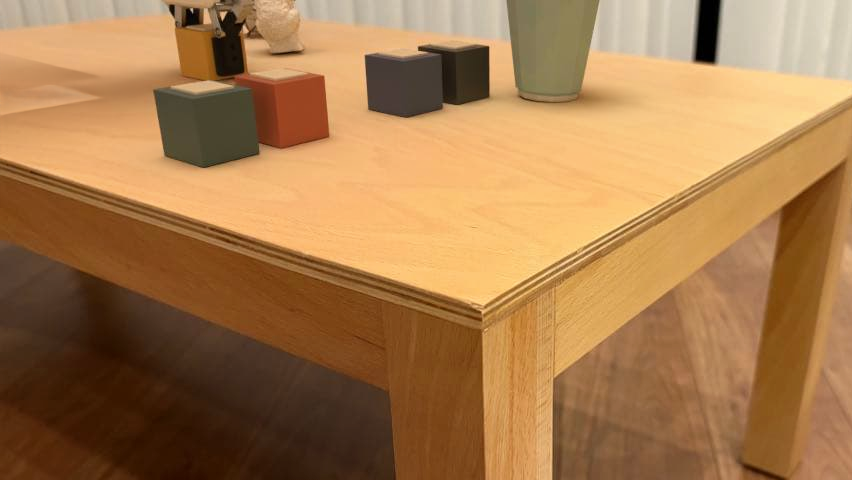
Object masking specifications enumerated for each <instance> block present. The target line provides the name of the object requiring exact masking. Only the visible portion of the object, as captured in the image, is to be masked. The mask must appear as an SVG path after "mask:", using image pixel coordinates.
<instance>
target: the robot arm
mask: <svg viewBox="0 0 852 480" xmlns="http://www.w3.org/2000/svg"><path fill="white" fill-rule="evenodd" d="M161 1H162V2H163V3H164V4H165V5H166V7H167V8H168V11H169V13H170V15H171V16H172V18H173V19H174V27H175V28H180V27H186V26H192V25H201V24H204V23H205V21H204V19H205V17H204V16H205V9H207V12H208V15H209V19H210V22H211V23H212V26H213V29H214V33H215V35H216V37H213V38H212V46H213V53H214V60H215V67H216V73H217V75H218V76H221V77H224V76H230V75H236V74H242V73H244V71H245V68H244V60H243V52H242V44H241V36H242V35H244V32H245V31H244V26H245V25H244V23H245V22H246V18H247V16H248V15H249V13H250V12H251V11H252V9H253V3H252V1H251V0H161ZM191 9H192V10H191ZM221 13H225V15H224V17H223V19H222V16H221V15H222V14H221ZM211 23H210V24H211ZM175 28H174V29H175Z"/></svg>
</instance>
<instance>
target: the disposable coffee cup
mask: <svg viewBox="0 0 852 480" xmlns="http://www.w3.org/2000/svg"><path fill="white" fill-rule="evenodd" d="M600 1H601V0H505V2H506V9H507V17H508V18H507V19H508V29H509V38H510V39H509V40H510V46H511V56H512V65H513V75H514V85H515V88H516V89H517V93H518V96H520V97H521V98H523V99H526V100H532V101H535V102H548V103H549V102H550V103H560V102H571V101H575V100H577V99H578V97H579V93H581V92H582V88H583V82H584V78H585V73H586V68H587V65H588V64H587V63H588V58H589V54H590V49H591V44H592V39H593V34H594V30H595V25H596V20H597V16H598V10H599V5H600Z"/></svg>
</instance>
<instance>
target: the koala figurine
mask: <svg viewBox="0 0 852 480" xmlns="http://www.w3.org/2000/svg"><path fill="white" fill-rule="evenodd" d="M254 2H255V7H256V15H257V20H256V26H257V30H258V31H259V32H258V33H259V34H260V36H261V37H262V38H263V40H264V41H265V42H266V43H267V45H268V47H269V53H271V54H280V53H289V52H300V51H304V49H305V48H306V44H305V43H303V42H302V41H301V40H300V39H299V36H298V32H299V30H300V26H301V23H300V22H301V13H300V11H299V9H298V8H295V5H294V3H295V1H294V0H254Z"/></svg>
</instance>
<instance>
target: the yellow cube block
mask: <svg viewBox="0 0 852 480" xmlns="http://www.w3.org/2000/svg"><path fill="white" fill-rule="evenodd" d="M174 34H175V40H176V41H175V42H176V47H177V53H178V60H179V66H180V72H181V76H183V77H186V78H191V79H196V80H201V81H207V80H215V81H223V80H226V79H227V80H228V79H233V78H234V76H239V75H245V74H249V68H248V60H247V53H246V44H245V36H244V34H243V35H242V36H241V44H242V52H243V60H244V68H245V71H244V73H242V74H236V75H230V76H224V77H221V76H218V75H217V73H216V67H215V60H214V53H213V46H212V38H213V37H216V35H215V33H214V29H213V26H212V23H203V24H201V25H192V26H186V27H180V28H174ZM234 79H235V78H234Z"/></svg>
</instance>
